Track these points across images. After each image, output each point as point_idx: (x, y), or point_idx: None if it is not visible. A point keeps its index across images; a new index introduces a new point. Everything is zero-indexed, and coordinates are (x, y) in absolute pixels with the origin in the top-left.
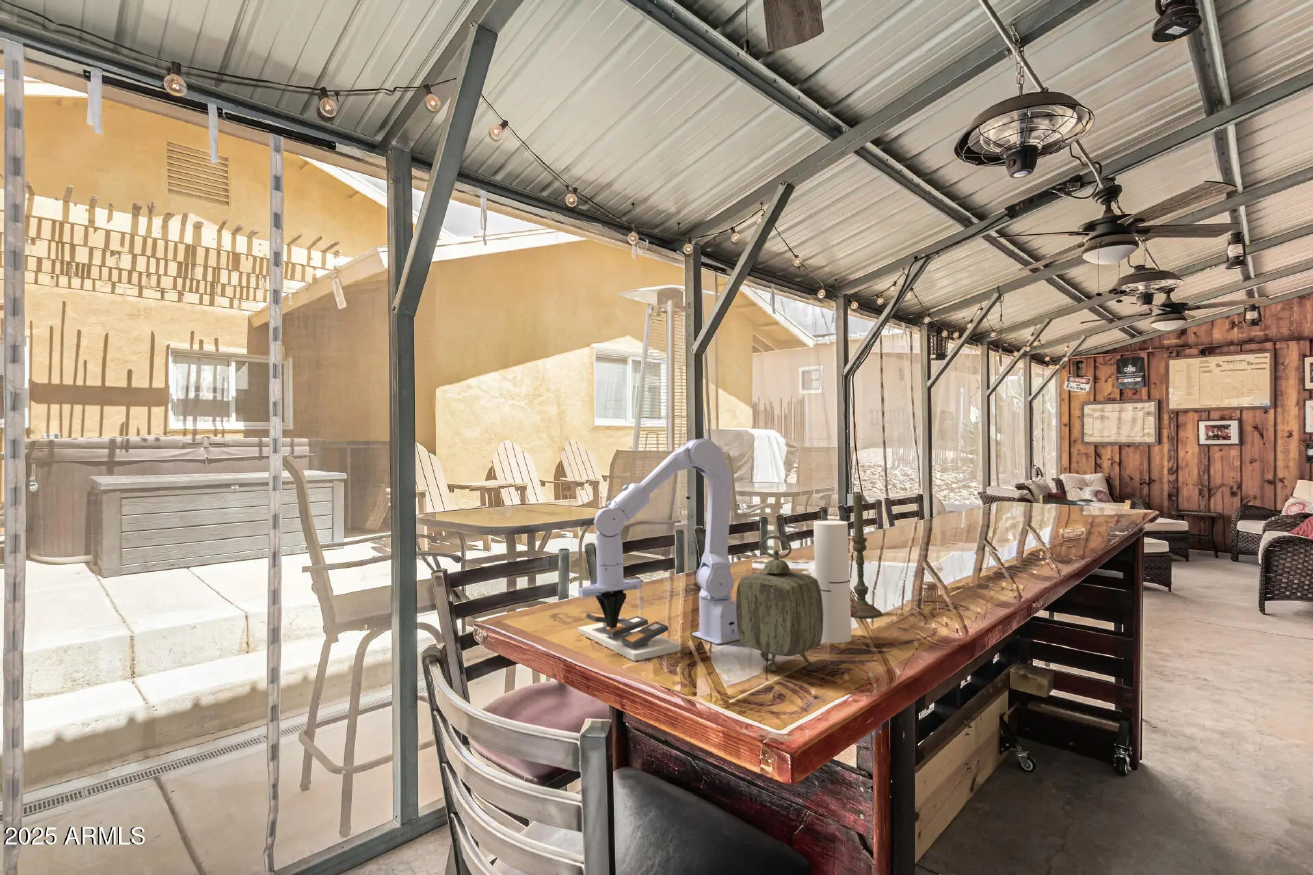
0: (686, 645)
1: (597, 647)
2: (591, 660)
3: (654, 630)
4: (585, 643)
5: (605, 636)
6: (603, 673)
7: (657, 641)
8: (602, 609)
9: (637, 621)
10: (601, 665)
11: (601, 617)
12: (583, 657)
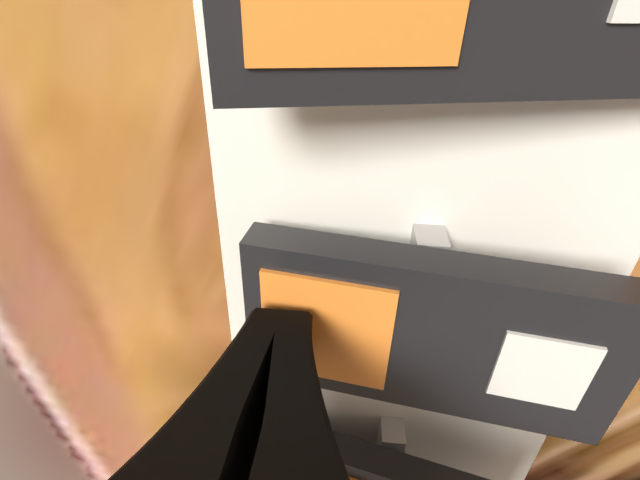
0: (588, 462)
1: (194, 226)
2: (92, 366)
3: None
4: (145, 84)
5: (274, 214)
6: (100, 475)
7: (460, 459)
8: (156, 444)
9: (525, 398)
10: (118, 427)
11: (322, 81)
12: (63, 315)
